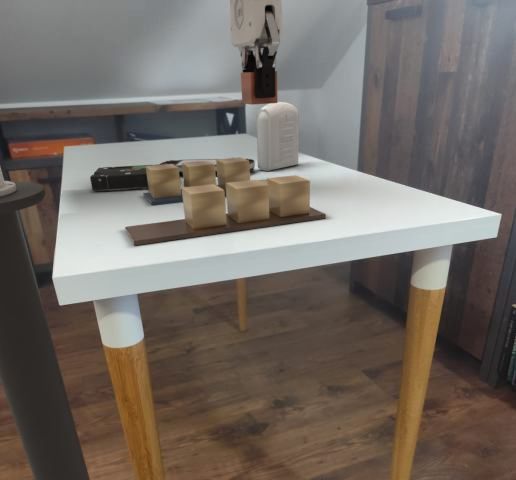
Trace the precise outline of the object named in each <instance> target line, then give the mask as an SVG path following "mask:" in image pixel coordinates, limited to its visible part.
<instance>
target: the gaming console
mask: <svg viewBox="0 0 516 480" xmlns="http://www.w3.org/2000/svg"><path fill="white" fill-rule="evenodd" d="M217 159H218V158H203V159H202V158H199V159H197V158H195V159H177V160H174V159H170V160H166V161H162V162H160V163H159V164H175V166H177V167H178V168H179V177H183V170H182V163H185V162H196V161H209V162H211V163H213V164H215V174H216V176H217V163H216V160H217ZM245 159H246V160H249V163H250V173H251V172H252V171H253V170H254V168H255V166H256V165H255V164H256V163H255V160H254V159H252V158H245Z"/></svg>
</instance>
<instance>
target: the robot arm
mask: <svg viewBox="0 0 516 480" xmlns="http://www.w3.org/2000/svg"><path fill="white" fill-rule="evenodd" d="M229 3H230V5H229V6H230V7H229V8H230V11H229V12H230V15H229V17H230V41H231V45H232V46H234V48H238V50H239V52H240V57H241V70H242V73H244V72H254V75H255V97H256V98H273V97H275V95H276V90H275V71H276V66H277V57H276V56H277V53H278V49H279V46H280V44H281V38H282V34H283V33H282V31H283V11H282V8H283V7H282V6H283V4H282V0H230V1H229ZM13 182H14V181H10V180H5V178H4V175H3V170H2V168H1V166H0V197H3V196H6V195H9V194H12V193H14V192H15V191H16V190H17V188H16V185H15V183H13Z"/></svg>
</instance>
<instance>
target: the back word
mask: <svg viewBox="0 0 516 480" xmlns="http://www.w3.org/2000/svg"><path fill="white" fill-rule="evenodd" d="M216 159H217V160H216V163H217V175H216V174H215V164H213V163H211V162H209V161H196V162H185V163H182V170H183V176H182V179H183V187H193V186H202V185H211V184H215V185H216V186H218V187H220V188H221V189H223V190H224V191H225V197H227V196H226V183H229V182H238V181H247V180H251V172H250V163H249V160H246V159H247V158H243V157H241V156H240V157H228V158H216ZM152 165H153V166H146V173H147V180H148V187H149V188H148V192H143V193H142V194H143V197H144V198H145V200H146V201H147V202H148V203H149V204H150V205H151V206H156V205H157V206H158V205H165V204H173V203H181V202H182V203H183V195H182V187H181V179H180V177H181V176H179V168H178V167H177V166H175V165H173V164H164V165H157V164H152ZM216 176H217V177H216ZM257 180H258V181H260V182H263V183H265V184H267V178H266V179H257Z"/></svg>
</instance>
